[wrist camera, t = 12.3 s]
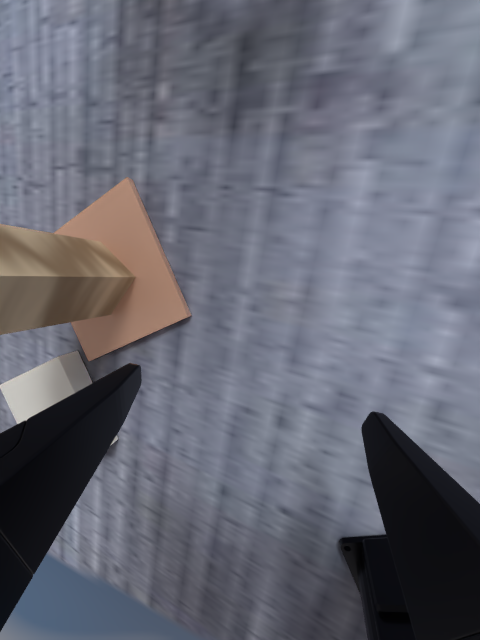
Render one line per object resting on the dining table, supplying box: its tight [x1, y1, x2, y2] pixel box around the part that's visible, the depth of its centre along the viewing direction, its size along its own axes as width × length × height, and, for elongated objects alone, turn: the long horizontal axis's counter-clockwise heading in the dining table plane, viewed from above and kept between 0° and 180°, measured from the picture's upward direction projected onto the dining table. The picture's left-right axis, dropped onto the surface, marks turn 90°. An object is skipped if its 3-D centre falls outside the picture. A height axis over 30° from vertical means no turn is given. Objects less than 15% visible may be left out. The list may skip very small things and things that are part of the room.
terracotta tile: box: [54, 177, 192, 361], centre depth 21 cm, size 12×12×1 cm
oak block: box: [0, 224, 136, 335], centre depth 15 cm, size 4×4×13 cm
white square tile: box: [0, 351, 118, 446], centre depth 25 cm, size 10×10×2 cm
